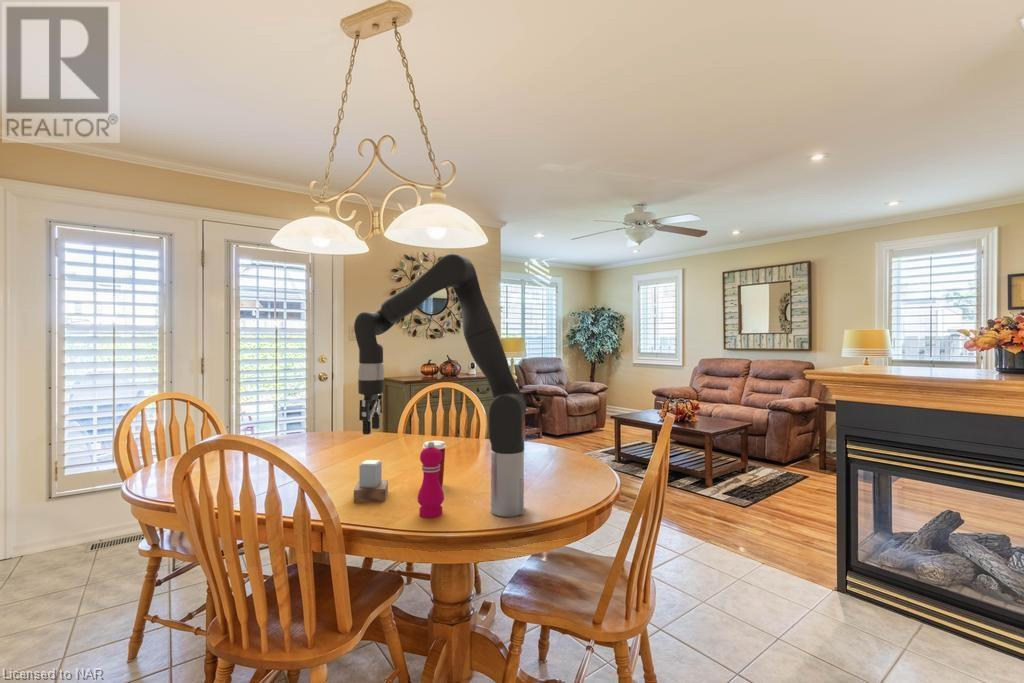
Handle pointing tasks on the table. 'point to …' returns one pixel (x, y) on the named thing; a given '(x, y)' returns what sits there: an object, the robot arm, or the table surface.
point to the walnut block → (371, 493)
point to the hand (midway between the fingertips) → (371, 431)
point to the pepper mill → (430, 483)
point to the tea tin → (370, 473)
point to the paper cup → (441, 447)
